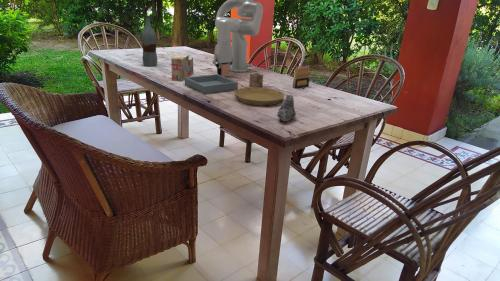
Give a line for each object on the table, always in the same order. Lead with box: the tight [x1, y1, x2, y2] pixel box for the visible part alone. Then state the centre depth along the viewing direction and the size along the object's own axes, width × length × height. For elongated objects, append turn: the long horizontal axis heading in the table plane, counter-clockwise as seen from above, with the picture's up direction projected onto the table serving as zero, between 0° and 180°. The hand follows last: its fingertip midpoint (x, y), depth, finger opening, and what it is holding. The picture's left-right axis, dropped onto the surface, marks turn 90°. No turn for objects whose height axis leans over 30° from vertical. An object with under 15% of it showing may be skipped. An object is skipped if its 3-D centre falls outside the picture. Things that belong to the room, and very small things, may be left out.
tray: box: [184, 73, 239, 95], centre depth 193 cm, size 20×20×4 cm
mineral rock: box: [276, 94, 297, 122], centre depth 152 cm, size 13×11×10 cm
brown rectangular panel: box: [292, 64, 310, 89], centre depth 202 cm, size 11×2×12 cm, turn 127°
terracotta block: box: [221, 63, 230, 78], centre depth 215 cm, size 5×5×7 cm
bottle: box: [140, 15, 158, 68], centre depth 230 cm, size 9×9×30 cm
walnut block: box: [248, 72, 264, 88], centre depth 198 cm, size 5×5×7 cm
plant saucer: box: [233, 87, 286, 106], centre depth 178 cm, size 24×24×3 cm
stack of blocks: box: [170, 53, 194, 82], centre depth 211 cm, size 21×6×12 cm, turn 172°
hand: (223, 73), depth 216 cm, fingers closed on terracotta block, 5 cm apart
